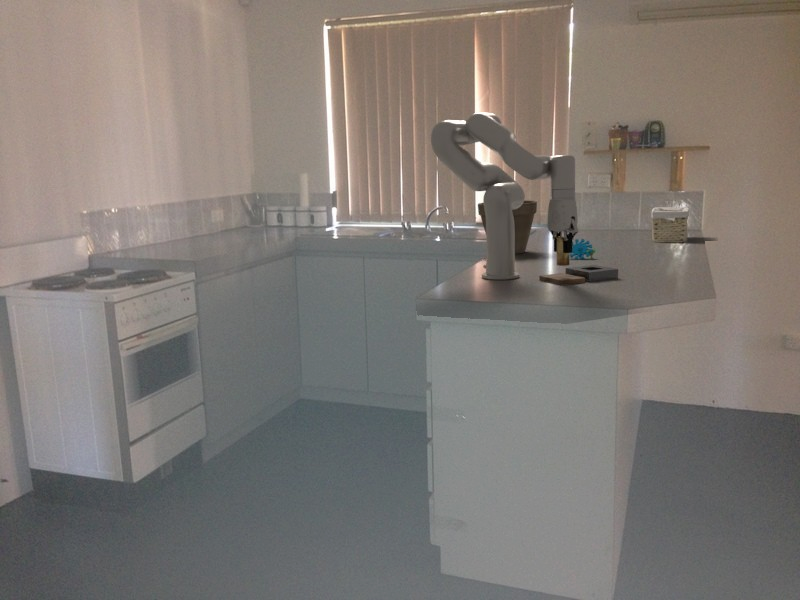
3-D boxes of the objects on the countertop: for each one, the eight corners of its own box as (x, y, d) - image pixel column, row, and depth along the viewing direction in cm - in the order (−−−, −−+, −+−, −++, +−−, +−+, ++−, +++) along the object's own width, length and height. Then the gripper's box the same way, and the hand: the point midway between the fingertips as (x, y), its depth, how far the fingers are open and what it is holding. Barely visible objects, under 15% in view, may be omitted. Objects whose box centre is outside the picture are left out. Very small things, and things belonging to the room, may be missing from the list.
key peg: (554, 264, 232) (554, 237, 231) (564, 263, 234) (564, 236, 232) (561, 266, 229) (561, 237, 227) (571, 264, 230) (572, 236, 229)
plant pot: (473, 256, 301) (472, 204, 297) (483, 248, 325) (483, 200, 321) (533, 256, 294) (533, 203, 290) (539, 249, 317) (539, 199, 313)
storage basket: (687, 243, 321) (689, 210, 319) (649, 242, 327) (650, 210, 325) (688, 237, 343) (689, 206, 340) (652, 237, 349) (653, 206, 346)
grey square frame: (565, 276, 241) (565, 268, 240) (593, 273, 246) (593, 264, 245) (588, 281, 230) (589, 272, 230) (618, 278, 235) (618, 269, 235)
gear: (563, 255, 282) (570, 235, 286) (564, 264, 287) (571, 244, 291) (591, 260, 277) (598, 240, 282) (592, 269, 282) (599, 249, 286)
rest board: (539, 280, 236) (539, 275, 236) (561, 277, 240) (561, 273, 239) (562, 285, 225) (562, 280, 225) (584, 282, 229) (585, 277, 229)
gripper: (537, 195, 233) (537, 251, 237) (570, 195, 218) (570, 255, 222) (556, 193, 236) (556, 249, 240) (589, 194, 221) (589, 253, 225)
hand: (563, 251), depth 231 cm, fingers closed on key peg, 4 cm apart
